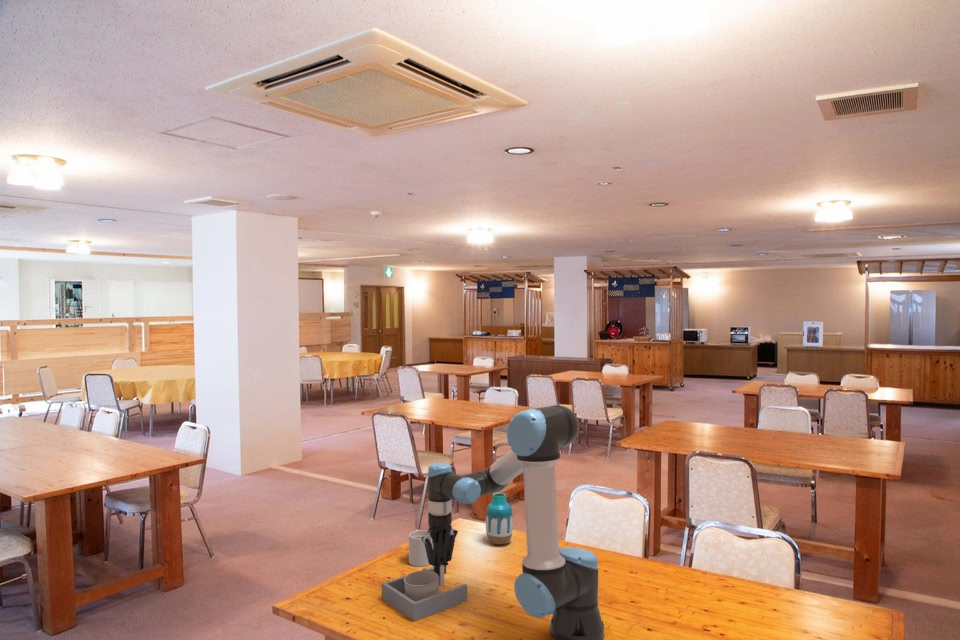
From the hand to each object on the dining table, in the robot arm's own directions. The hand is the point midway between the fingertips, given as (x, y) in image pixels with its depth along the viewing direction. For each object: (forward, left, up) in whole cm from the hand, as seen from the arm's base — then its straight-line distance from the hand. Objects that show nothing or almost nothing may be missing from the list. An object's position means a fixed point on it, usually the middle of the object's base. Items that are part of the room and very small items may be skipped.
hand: (440, 584), depth 199 cm
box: (0, +6, -3) cm, 7 cm away
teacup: (0, +7, -3) cm, 7 cm away
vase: (+21, -44, -3) cm, 49 cm away
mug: (+25, -11, -3) cm, 27 cm away
